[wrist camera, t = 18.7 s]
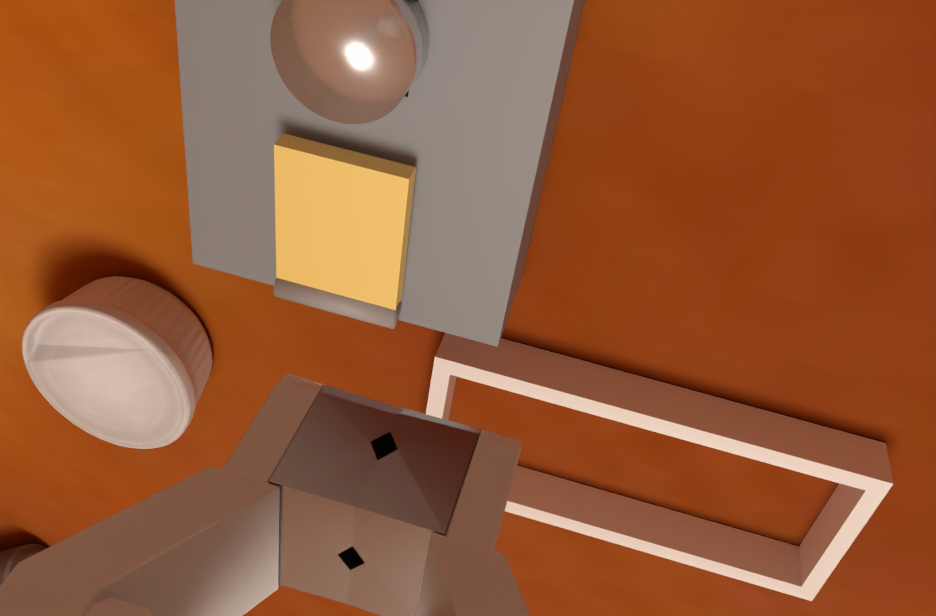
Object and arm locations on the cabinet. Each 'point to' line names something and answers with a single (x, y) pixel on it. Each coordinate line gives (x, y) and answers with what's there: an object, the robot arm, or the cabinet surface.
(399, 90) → the steel peg
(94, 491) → the cabinet surface
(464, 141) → the hitch block
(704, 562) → the rectangular frame
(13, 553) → the pipe fitting
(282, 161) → the yellow rectangular slab
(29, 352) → the ramekin
